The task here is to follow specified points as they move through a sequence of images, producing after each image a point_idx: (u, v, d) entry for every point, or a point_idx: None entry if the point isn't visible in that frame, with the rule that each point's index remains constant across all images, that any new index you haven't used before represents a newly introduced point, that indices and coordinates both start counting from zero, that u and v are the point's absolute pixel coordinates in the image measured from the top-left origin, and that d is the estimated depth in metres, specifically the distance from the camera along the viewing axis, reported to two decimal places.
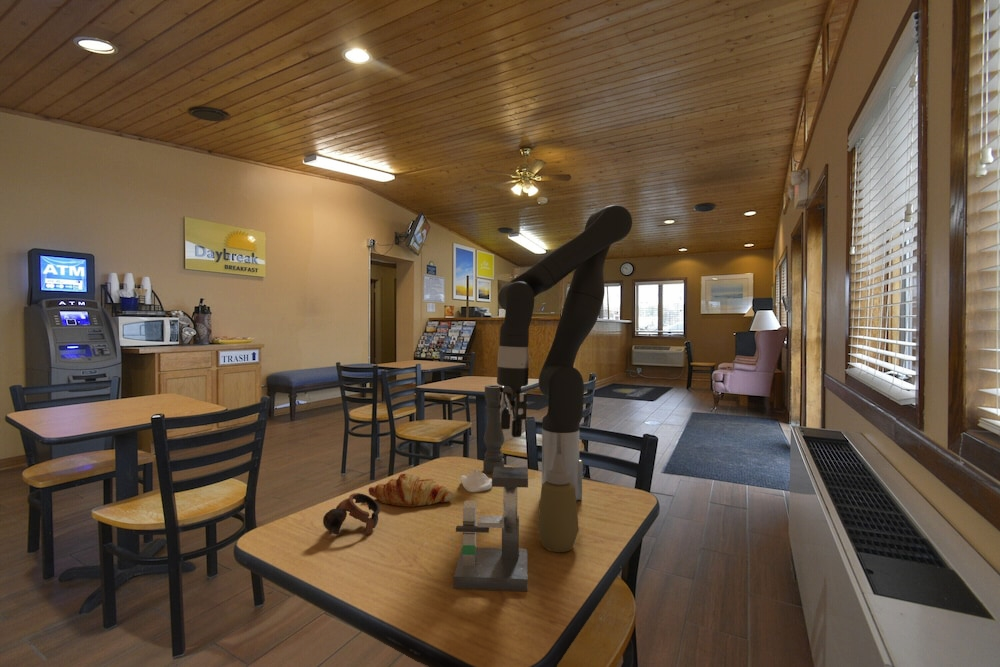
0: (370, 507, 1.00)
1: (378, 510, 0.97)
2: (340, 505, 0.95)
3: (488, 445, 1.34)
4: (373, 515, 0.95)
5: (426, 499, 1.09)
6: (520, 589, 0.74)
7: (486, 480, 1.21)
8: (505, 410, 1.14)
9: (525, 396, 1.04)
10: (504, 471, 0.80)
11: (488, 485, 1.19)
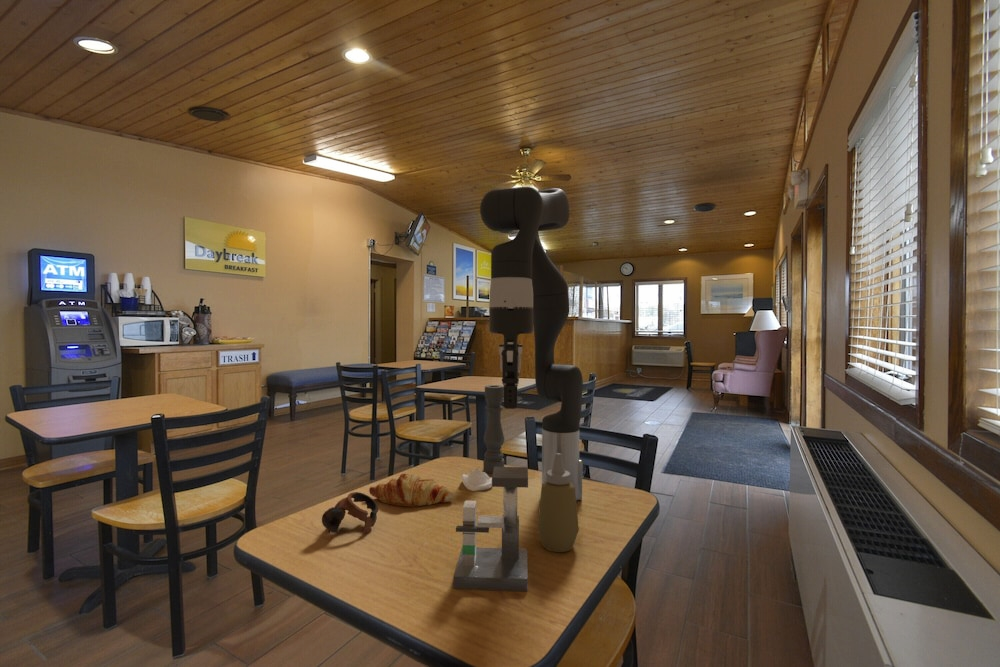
0: (368, 506, 1.01)
1: (376, 509, 0.97)
2: (339, 504, 0.95)
3: (488, 445, 1.34)
4: (371, 514, 0.95)
5: (426, 499, 1.09)
6: (520, 589, 0.74)
7: (487, 479, 1.22)
8: None
9: None
10: (504, 471, 0.80)
11: (489, 484, 1.20)
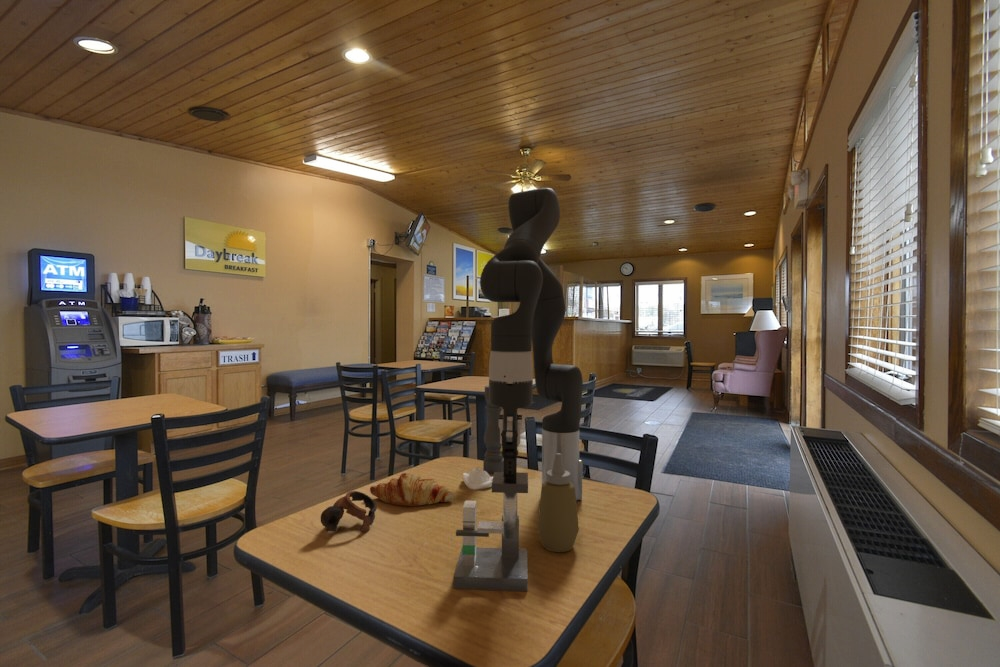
0: (367, 505, 1.01)
1: (375, 507, 0.98)
2: (337, 503, 0.96)
3: (488, 445, 1.34)
4: (370, 512, 0.96)
5: (426, 498, 1.09)
6: (520, 589, 0.74)
7: (487, 478, 1.23)
8: None
9: None
10: None
11: (489, 483, 1.21)
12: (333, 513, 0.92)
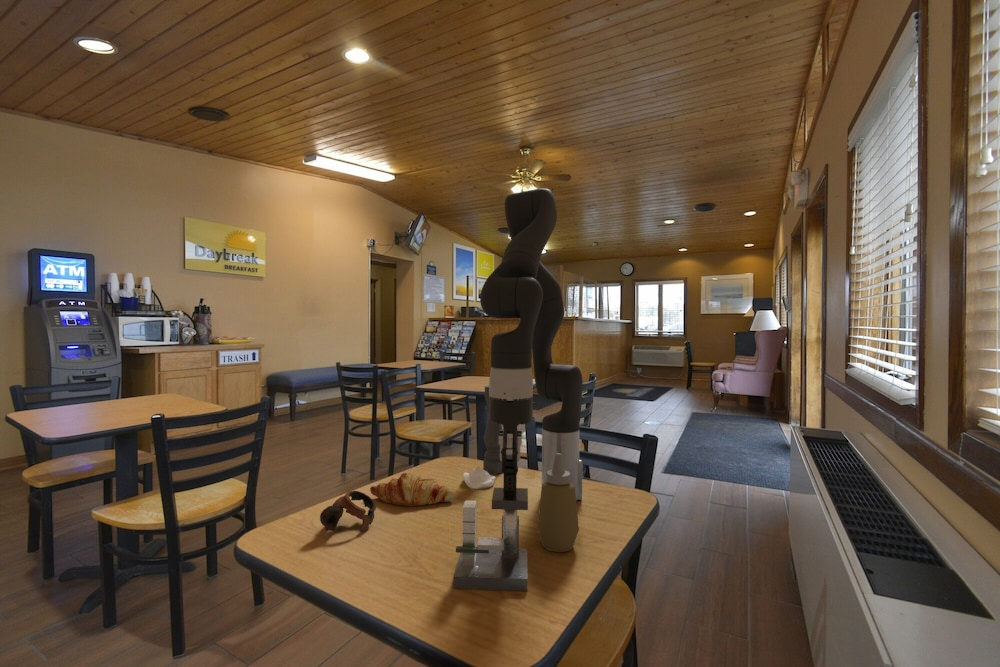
0: (366, 504, 1.01)
1: (374, 507, 0.98)
2: (337, 502, 0.96)
3: (488, 445, 1.34)
4: (369, 512, 0.96)
5: (426, 498, 1.09)
6: (520, 589, 0.74)
7: (488, 477, 1.24)
8: None
9: None
10: None
11: (490, 482, 1.22)
12: (332, 512, 0.93)
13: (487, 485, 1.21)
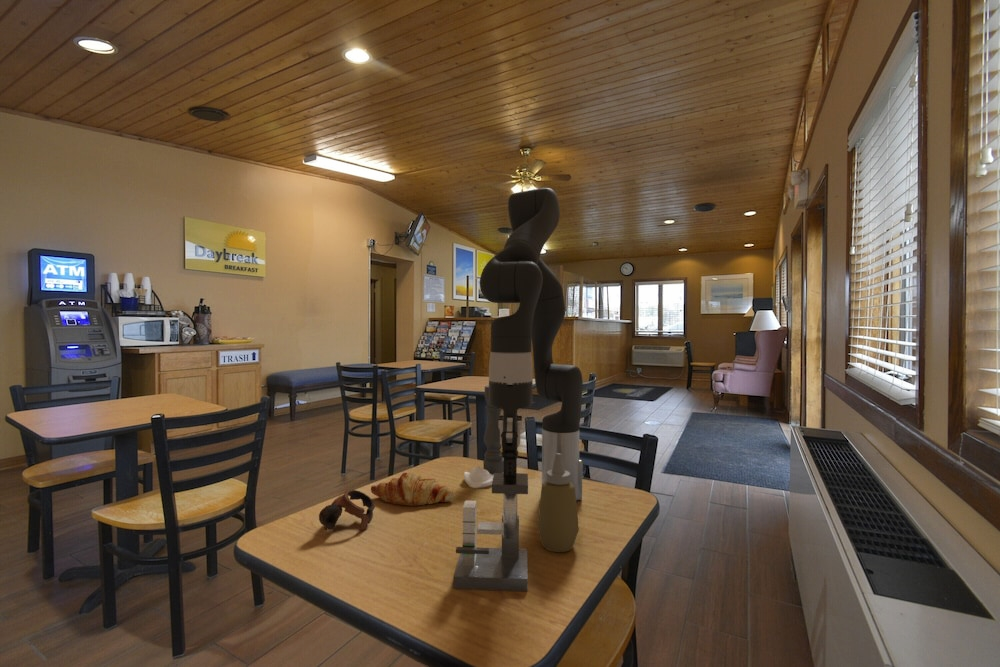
0: (365, 503, 1.02)
1: (373, 506, 0.99)
2: (335, 501, 0.97)
3: (488, 445, 1.34)
4: (368, 511, 0.97)
5: (426, 498, 1.09)
6: (520, 589, 0.74)
7: (488, 476, 1.24)
8: None
9: None
10: None
11: (490, 481, 1.22)
12: (331, 512, 0.93)
13: (487, 484, 1.22)
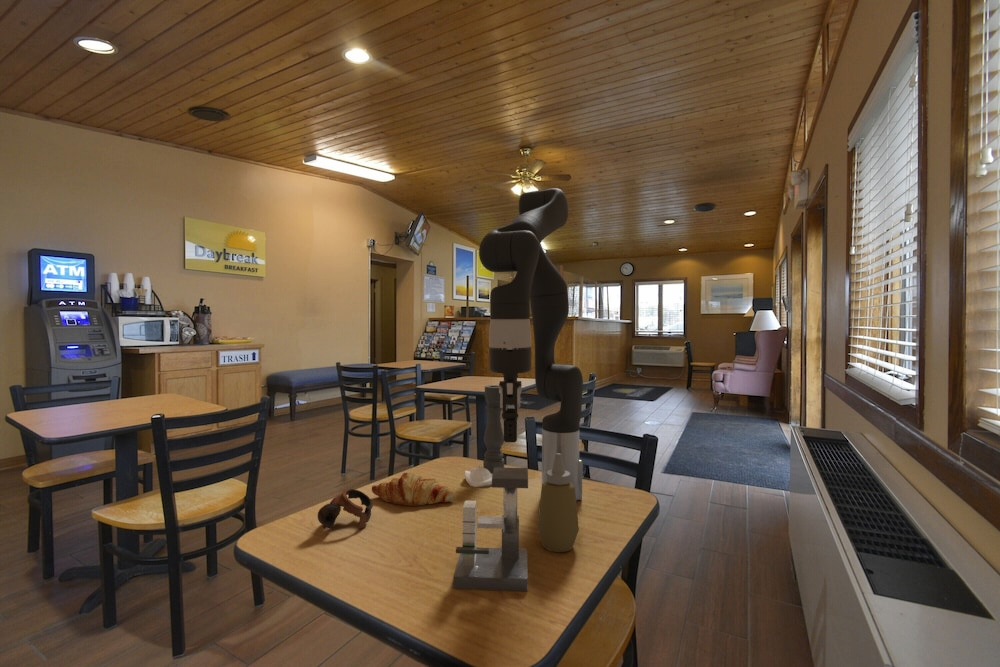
0: (363, 502, 1.03)
1: (371, 505, 1.00)
2: (334, 500, 0.97)
3: (488, 445, 1.34)
4: (366, 509, 0.98)
5: (426, 498, 1.09)
6: (520, 589, 0.74)
7: (489, 475, 1.25)
8: None
9: None
10: (504, 472, 0.80)
11: (491, 480, 1.23)
12: (330, 510, 0.94)
13: (488, 483, 1.23)
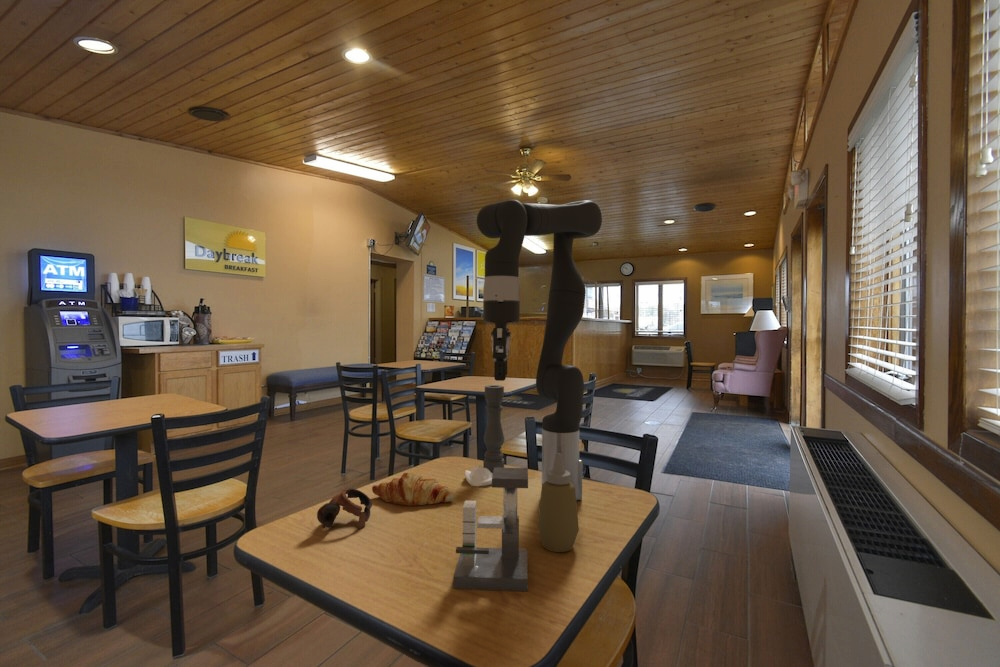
0: (362, 502, 1.03)
1: (370, 504, 1.00)
2: (333, 500, 0.98)
3: (488, 445, 1.34)
4: (366, 509, 0.98)
5: (426, 498, 1.09)
6: (520, 589, 0.74)
7: (489, 475, 1.25)
8: None
9: None
10: (504, 472, 0.80)
11: (491, 480, 1.23)
12: (329, 510, 0.94)
13: (488, 483, 1.23)
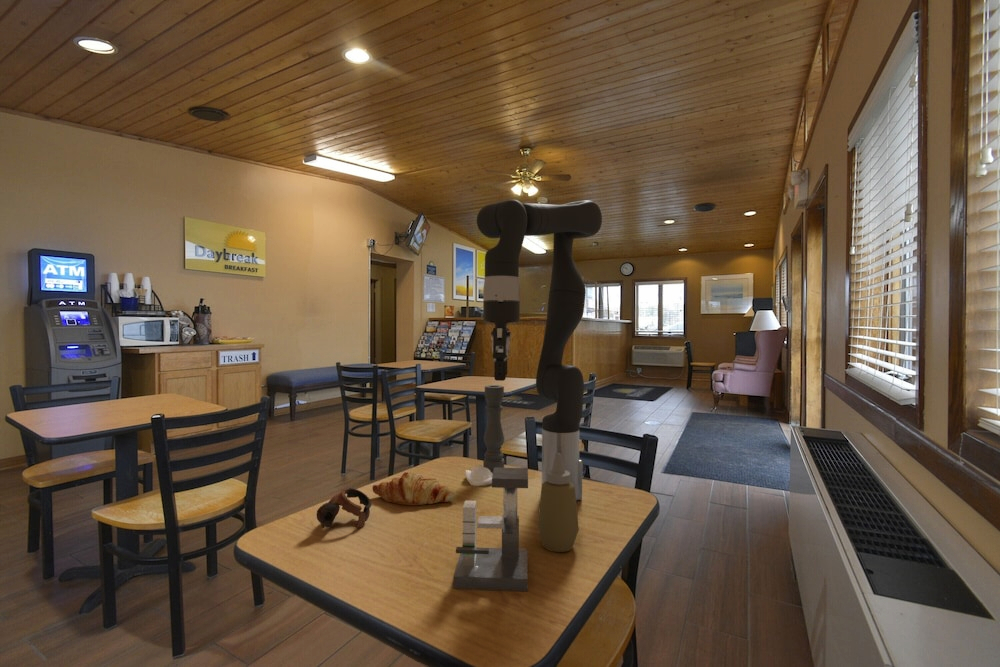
0: (361, 501, 1.03)
1: (370, 504, 1.00)
2: (333, 499, 0.98)
3: (488, 445, 1.34)
4: (365, 509, 0.98)
5: (426, 498, 1.09)
6: (520, 589, 0.74)
7: (489, 475, 1.26)
8: None
9: None
10: (504, 472, 0.80)
11: (491, 479, 1.24)
12: (329, 509, 0.94)
13: (488, 482, 1.23)
